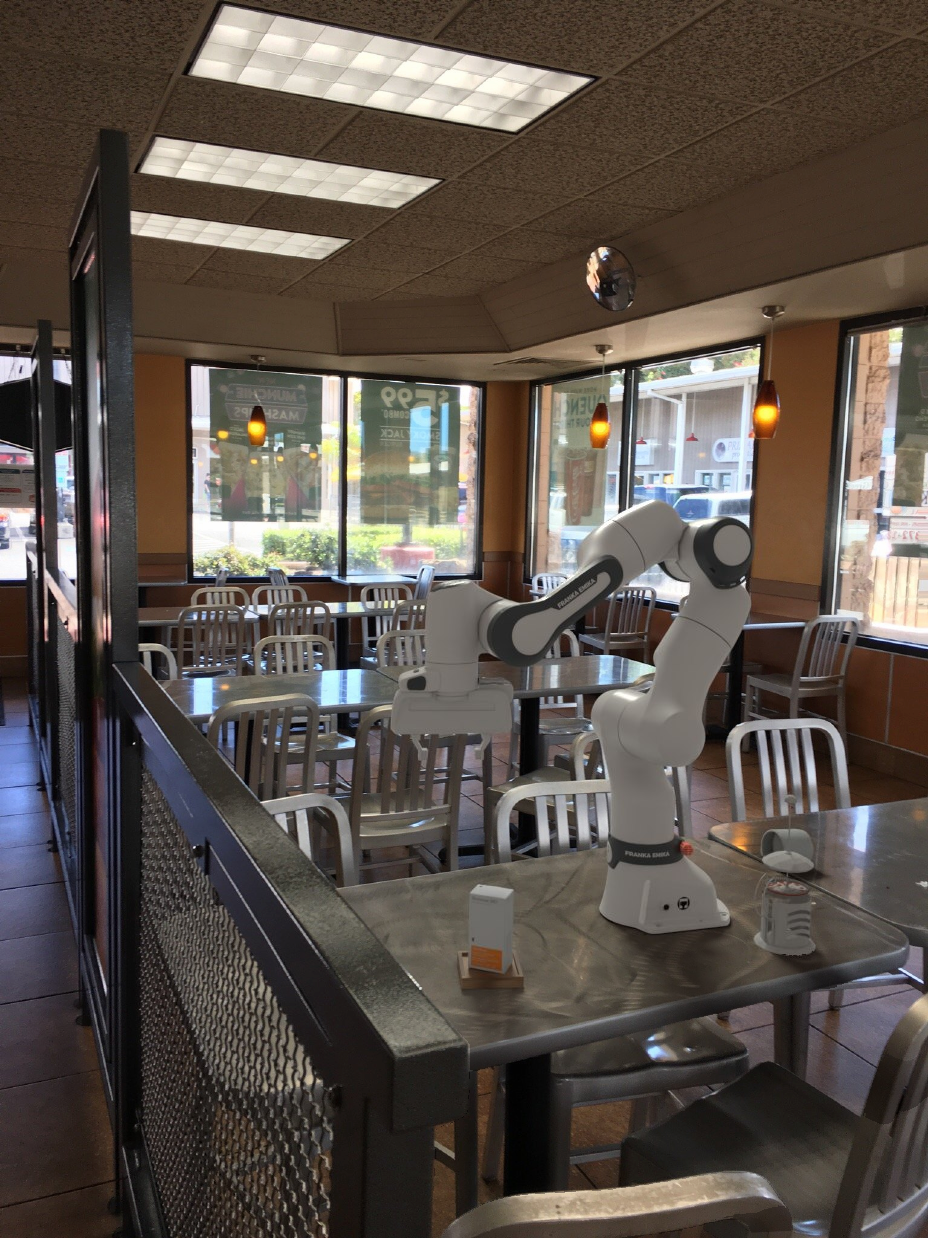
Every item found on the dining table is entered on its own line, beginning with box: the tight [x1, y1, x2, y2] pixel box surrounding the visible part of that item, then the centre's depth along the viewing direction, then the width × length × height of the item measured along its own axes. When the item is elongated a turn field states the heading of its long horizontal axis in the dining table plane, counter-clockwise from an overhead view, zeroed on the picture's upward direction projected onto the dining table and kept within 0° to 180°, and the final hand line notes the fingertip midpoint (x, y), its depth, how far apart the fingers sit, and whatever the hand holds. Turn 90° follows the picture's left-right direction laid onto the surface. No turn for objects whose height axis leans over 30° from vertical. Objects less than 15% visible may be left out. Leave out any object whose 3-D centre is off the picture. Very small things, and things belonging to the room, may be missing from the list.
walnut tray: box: [457, 949, 525, 990], centre depth 152 cm, size 9×9×2 cm
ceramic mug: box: [760, 828, 815, 861], centre depth 202 cm, size 11×8×8 cm
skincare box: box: [467, 884, 515, 974], centre depth 152 cm, size 6×4×12 cm
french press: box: [753, 794, 816, 957], centre depth 163 cm, size 10×12×25 cm
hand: (450, 759), depth 167 cm, fingers open, 8 cm apart
